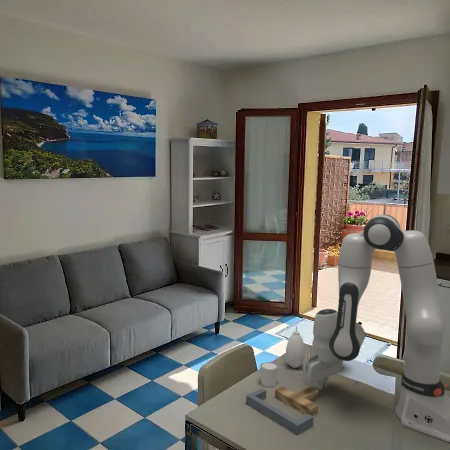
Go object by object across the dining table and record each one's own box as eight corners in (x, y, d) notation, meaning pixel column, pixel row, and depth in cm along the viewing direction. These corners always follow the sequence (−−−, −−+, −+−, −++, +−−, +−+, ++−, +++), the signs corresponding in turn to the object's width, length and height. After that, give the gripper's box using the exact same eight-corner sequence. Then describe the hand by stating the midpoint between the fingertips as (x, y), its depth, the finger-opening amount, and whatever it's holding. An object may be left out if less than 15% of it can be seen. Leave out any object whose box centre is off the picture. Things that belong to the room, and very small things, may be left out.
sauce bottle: (287, 361, 186) (289, 321, 183) (305, 365, 183) (307, 324, 181) (283, 369, 178) (285, 327, 176) (301, 372, 175) (304, 330, 173)
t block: (331, 405, 151) (332, 397, 151) (310, 417, 143) (310, 409, 143) (296, 387, 163) (296, 380, 163) (274, 397, 155) (275, 389, 155)
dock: (313, 425, 139) (313, 416, 138) (297, 434, 133) (297, 425, 133) (262, 396, 156) (262, 388, 156) (246, 403, 151) (246, 395, 150)
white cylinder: (276, 388, 162) (277, 370, 161) (258, 386, 163) (259, 368, 162) (277, 380, 169) (278, 363, 168) (260, 377, 170) (261, 360, 169)
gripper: (313, 362, 149) (310, 400, 151) (347, 348, 163) (344, 383, 164) (299, 356, 154) (296, 393, 156) (333, 343, 167) (330, 377, 169)
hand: (321, 388), depth 160 cm, fingers closed
